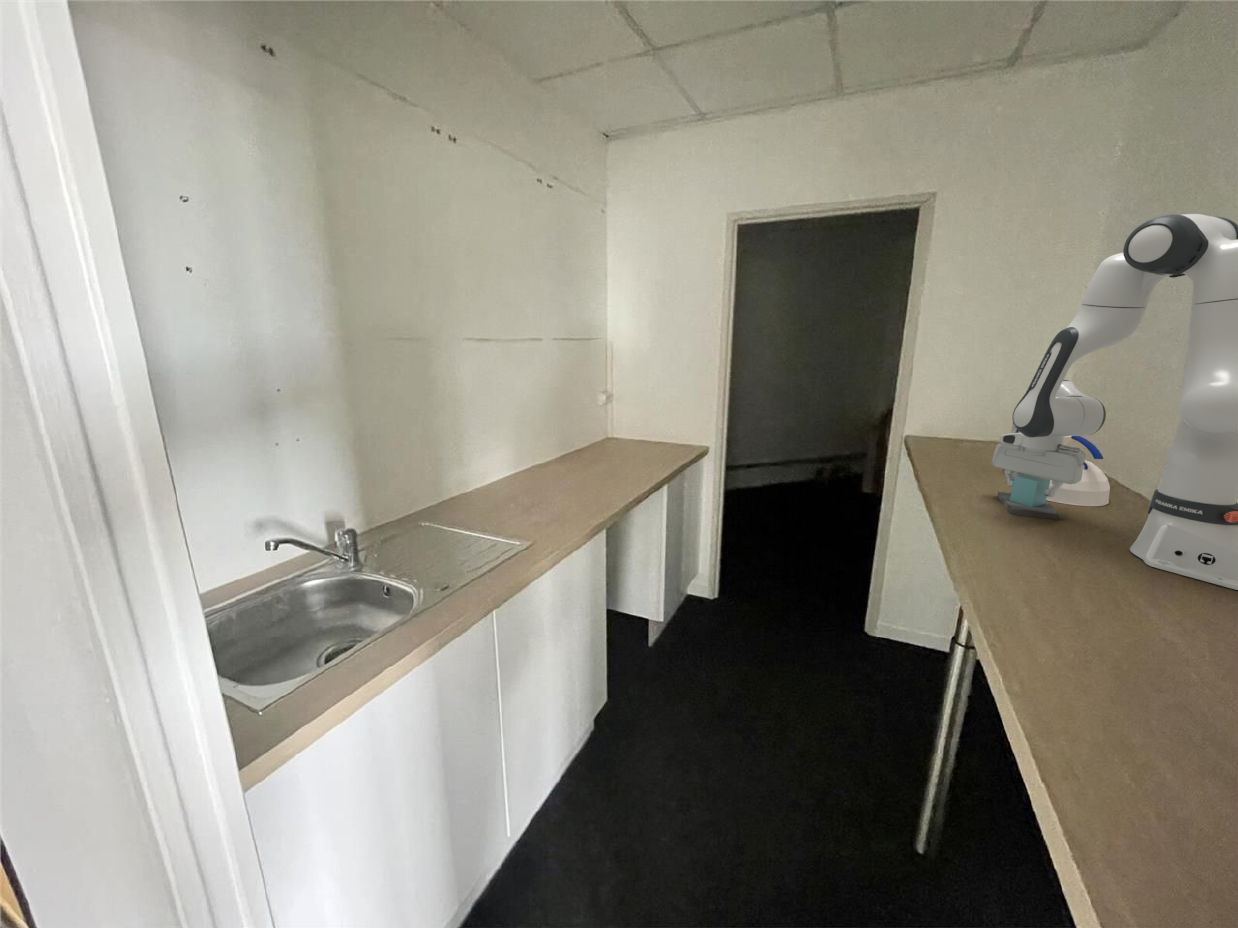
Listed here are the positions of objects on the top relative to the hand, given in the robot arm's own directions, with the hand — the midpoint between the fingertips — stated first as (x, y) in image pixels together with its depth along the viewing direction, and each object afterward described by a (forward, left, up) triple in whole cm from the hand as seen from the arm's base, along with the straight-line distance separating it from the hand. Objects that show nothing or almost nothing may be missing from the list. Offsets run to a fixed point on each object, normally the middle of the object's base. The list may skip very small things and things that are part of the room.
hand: (1029, 490), depth 141 cm
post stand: (0, 0, -5) cm, 5 cm away
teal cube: (0, 0, -3) cm, 3 cm away
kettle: (+3, -22, -5) cm, 23 cm away
